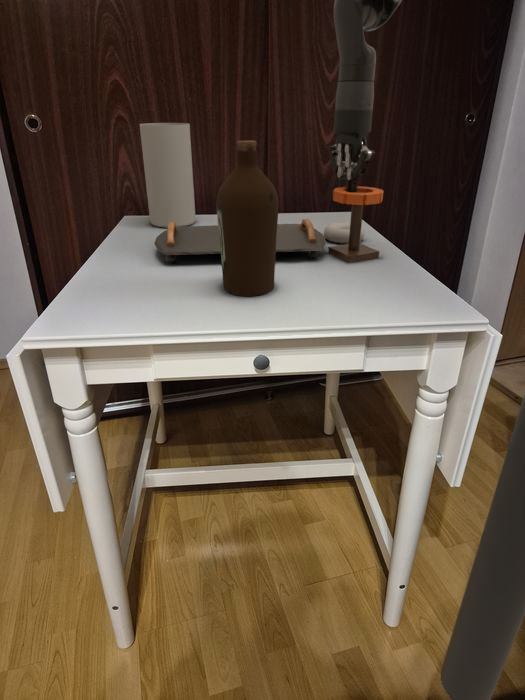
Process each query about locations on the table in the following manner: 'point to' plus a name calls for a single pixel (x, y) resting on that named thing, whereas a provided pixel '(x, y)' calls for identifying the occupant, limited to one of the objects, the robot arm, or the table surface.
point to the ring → (358, 196)
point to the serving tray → (208, 240)
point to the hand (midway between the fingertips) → (346, 196)
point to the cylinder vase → (168, 173)
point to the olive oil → (247, 226)
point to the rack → (354, 241)
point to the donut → (339, 232)
